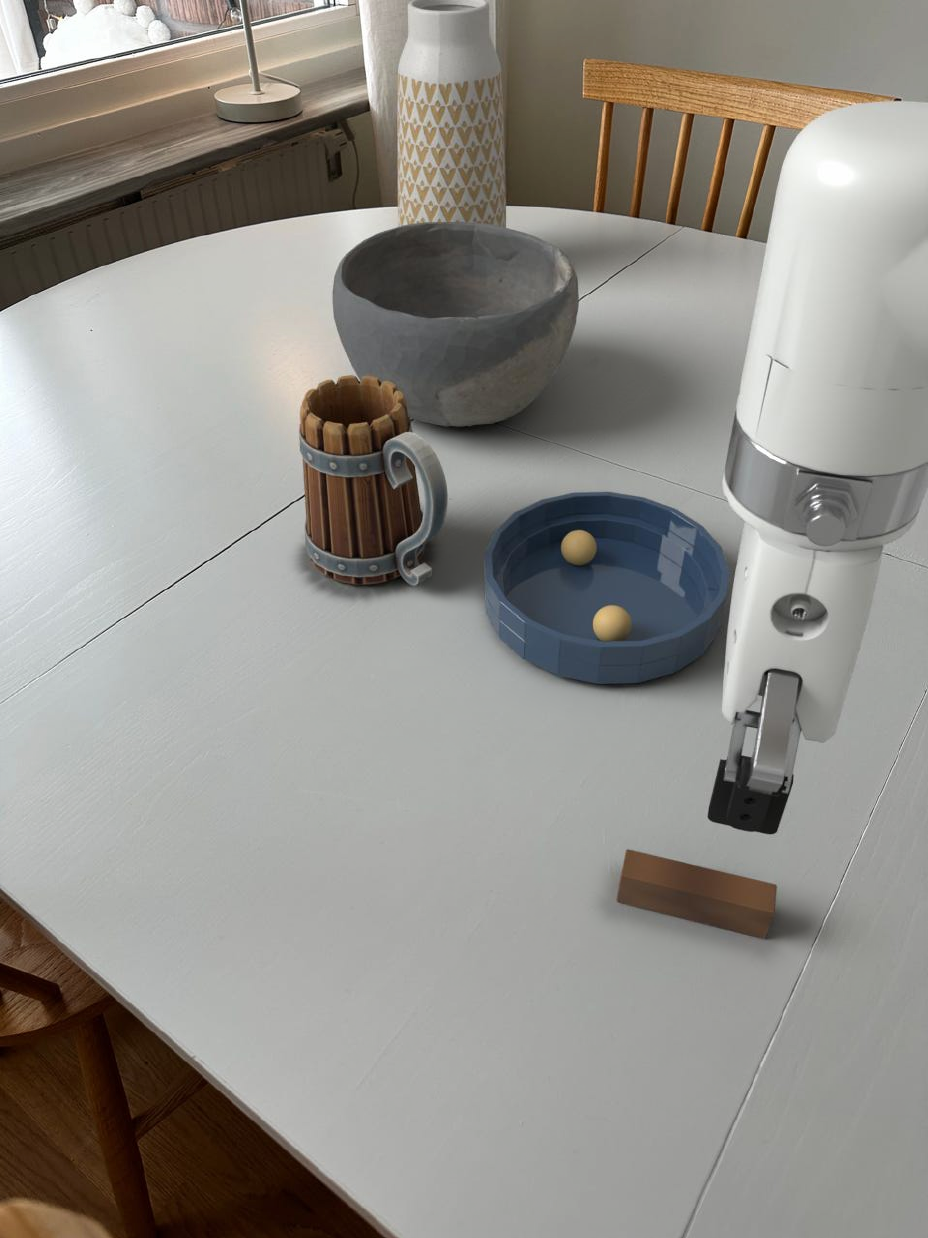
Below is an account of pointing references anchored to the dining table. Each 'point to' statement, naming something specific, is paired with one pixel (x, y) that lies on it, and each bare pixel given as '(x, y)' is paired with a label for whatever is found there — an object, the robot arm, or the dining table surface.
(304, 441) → the mug
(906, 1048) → the dining table surface
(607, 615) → the bead
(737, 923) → the brown wooden block
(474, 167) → the vase
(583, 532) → the bead
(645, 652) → the round tray
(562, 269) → the bowl
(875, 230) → the robot arm
